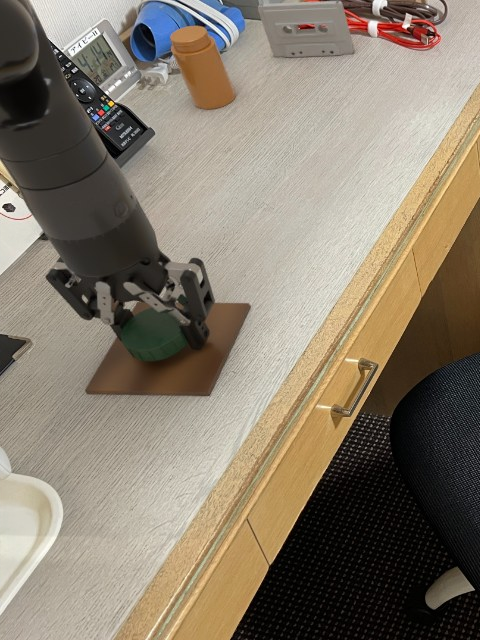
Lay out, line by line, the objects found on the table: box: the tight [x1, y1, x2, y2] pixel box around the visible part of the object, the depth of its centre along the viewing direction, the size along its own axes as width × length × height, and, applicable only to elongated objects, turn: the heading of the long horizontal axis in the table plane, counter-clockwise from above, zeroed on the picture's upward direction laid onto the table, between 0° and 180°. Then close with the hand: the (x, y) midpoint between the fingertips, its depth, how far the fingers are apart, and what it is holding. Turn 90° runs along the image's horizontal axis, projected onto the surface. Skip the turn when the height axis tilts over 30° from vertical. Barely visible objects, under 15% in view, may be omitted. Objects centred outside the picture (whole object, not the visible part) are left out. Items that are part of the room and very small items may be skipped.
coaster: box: [84, 301, 251, 397], centre depth 82 cm, size 12×12×1 cm
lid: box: [121, 307, 188, 362], centre depth 79 cm, size 6×6×2 cm
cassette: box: [257, 0, 355, 58], centre depth 120 cm, size 12×2×8 cm, turn 92°
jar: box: [169, 25, 237, 110], centre depth 111 cm, size 6×6×10 cm
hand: (168, 342), depth 82 cm, fingers closed on lid, 6 cm apart
